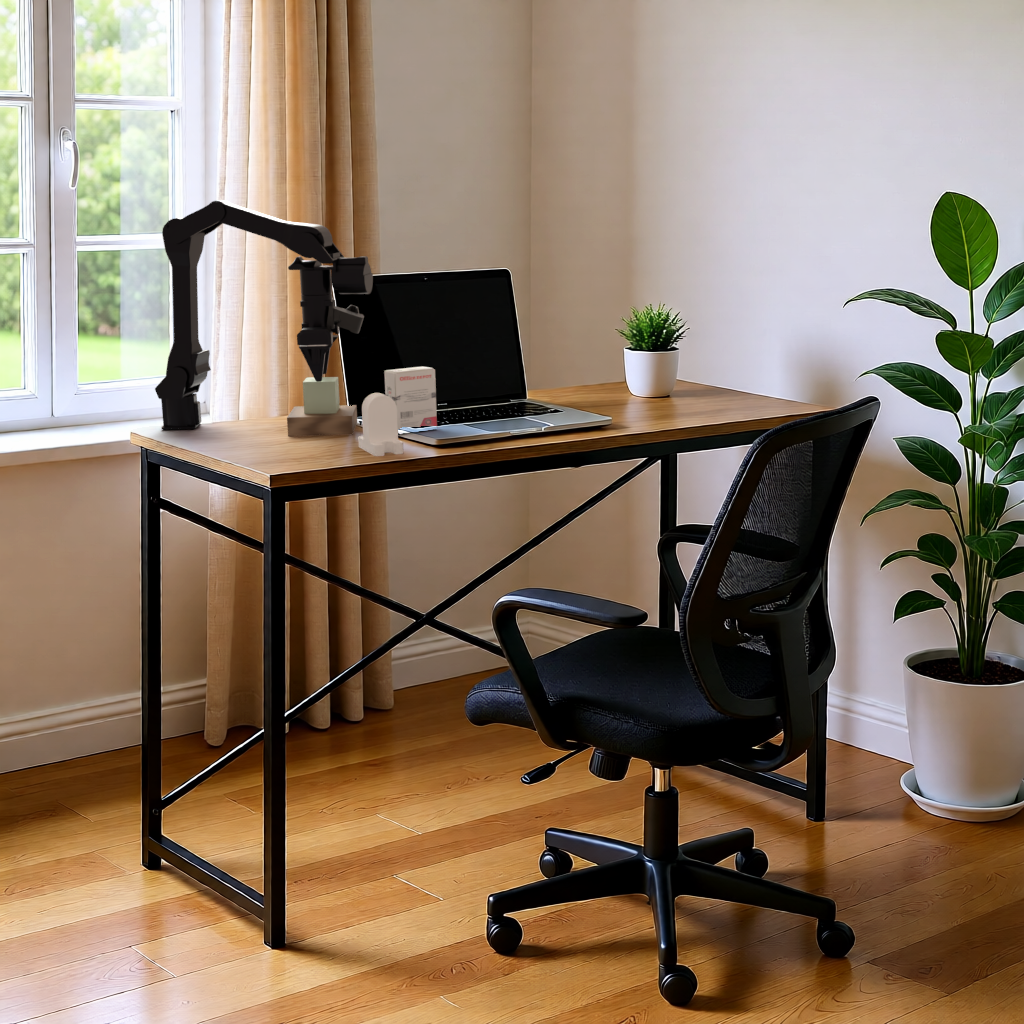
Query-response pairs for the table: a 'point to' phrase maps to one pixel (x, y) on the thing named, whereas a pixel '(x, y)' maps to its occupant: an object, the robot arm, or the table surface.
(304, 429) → the walnut block
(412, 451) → the table surface
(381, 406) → the white rounded upright block
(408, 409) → the ink box
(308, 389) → the sage cube
